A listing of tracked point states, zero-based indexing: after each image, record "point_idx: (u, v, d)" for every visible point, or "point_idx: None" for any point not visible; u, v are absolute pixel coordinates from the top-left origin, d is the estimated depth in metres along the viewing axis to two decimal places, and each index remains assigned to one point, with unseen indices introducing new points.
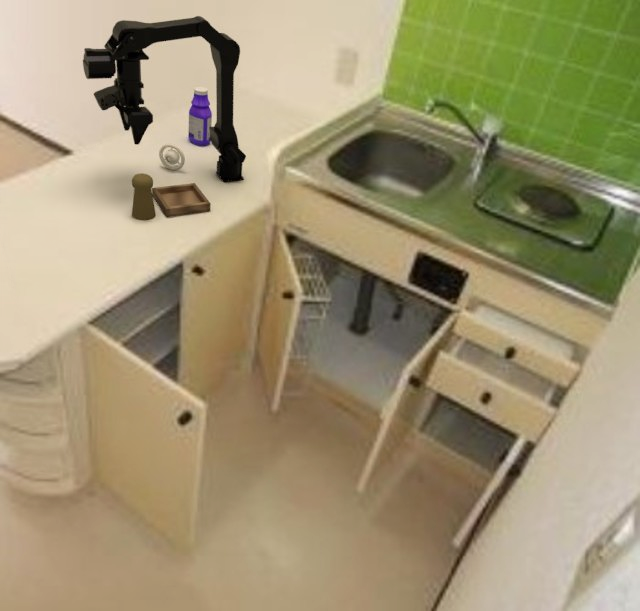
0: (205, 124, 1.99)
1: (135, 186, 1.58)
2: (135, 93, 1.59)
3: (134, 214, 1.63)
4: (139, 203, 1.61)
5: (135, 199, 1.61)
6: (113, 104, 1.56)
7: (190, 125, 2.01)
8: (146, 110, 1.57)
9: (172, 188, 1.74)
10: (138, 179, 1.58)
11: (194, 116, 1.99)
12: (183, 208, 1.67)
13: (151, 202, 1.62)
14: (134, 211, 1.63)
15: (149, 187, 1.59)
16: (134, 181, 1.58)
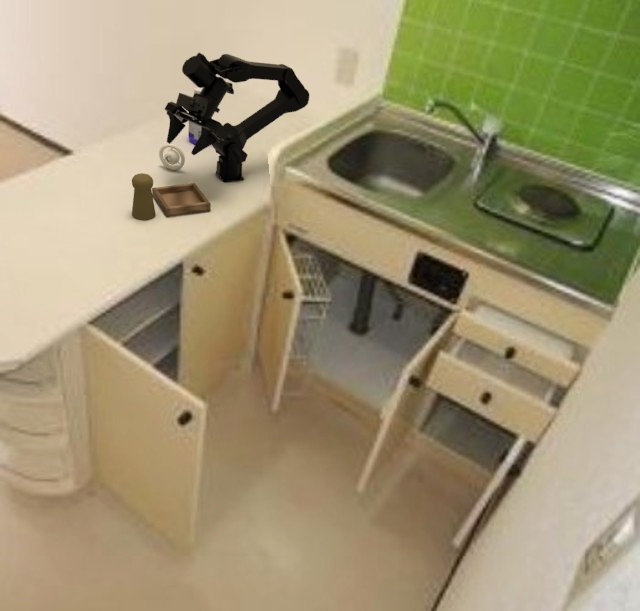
0: None
1: (135, 186, 1.58)
2: (212, 113, 1.69)
3: (134, 214, 1.63)
4: (139, 203, 1.61)
5: (135, 199, 1.61)
6: (201, 109, 1.63)
7: (190, 125, 2.01)
8: None
9: (172, 188, 1.74)
10: (138, 179, 1.58)
11: None
12: (183, 208, 1.67)
13: (151, 202, 1.62)
14: (134, 211, 1.63)
15: (149, 187, 1.59)
16: (134, 181, 1.58)
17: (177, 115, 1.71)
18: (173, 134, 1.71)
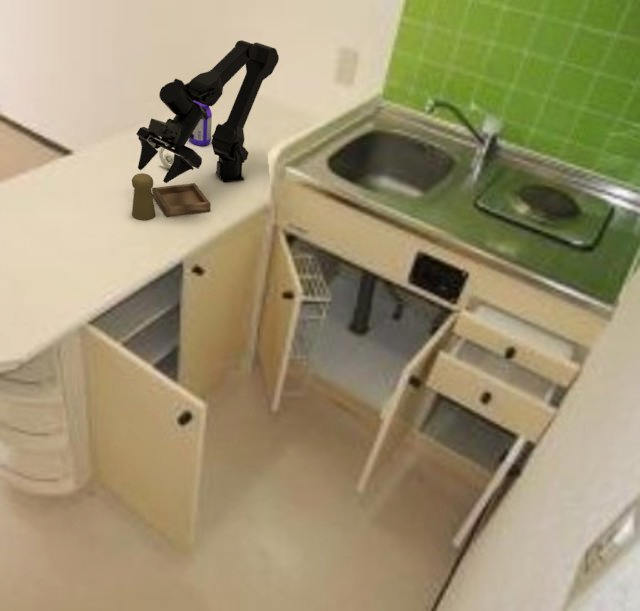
0: (205, 124, 1.99)
1: (135, 186, 1.58)
2: (186, 139, 1.62)
3: (134, 214, 1.63)
4: (139, 203, 1.61)
5: (135, 199, 1.61)
6: (174, 135, 1.56)
7: None
8: None
9: (172, 188, 1.74)
10: (138, 179, 1.58)
11: None
12: (183, 208, 1.67)
13: (151, 202, 1.62)
14: (134, 211, 1.63)
15: (149, 187, 1.59)
16: (134, 181, 1.58)
17: (149, 141, 1.64)
18: (145, 160, 1.64)
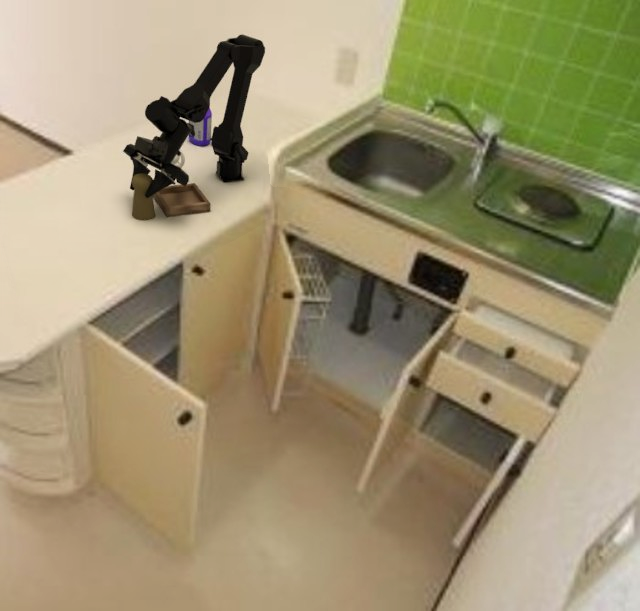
0: (205, 124, 1.99)
1: (135, 186, 1.58)
2: (173, 156, 1.61)
3: (134, 214, 1.63)
4: (139, 203, 1.61)
5: (135, 199, 1.61)
6: (161, 153, 1.55)
7: None
8: None
9: (172, 188, 1.74)
10: (138, 179, 1.58)
11: None
12: (183, 208, 1.67)
13: (151, 202, 1.62)
14: (134, 211, 1.63)
15: None
16: (134, 181, 1.58)
17: (141, 161, 1.62)
18: None
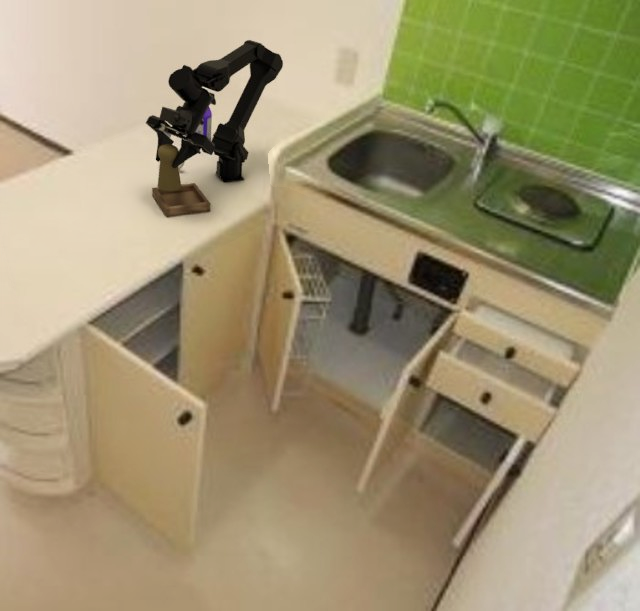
0: (205, 124, 1.99)
1: (162, 157, 1.60)
2: (197, 126, 1.62)
3: (161, 185, 1.64)
4: (166, 174, 1.62)
5: (162, 170, 1.62)
6: (187, 123, 1.56)
7: None
8: None
9: None
10: (165, 150, 1.59)
11: None
12: (183, 208, 1.67)
13: (177, 173, 1.64)
14: (161, 182, 1.64)
15: None
16: (161, 152, 1.59)
17: (165, 131, 1.63)
18: None
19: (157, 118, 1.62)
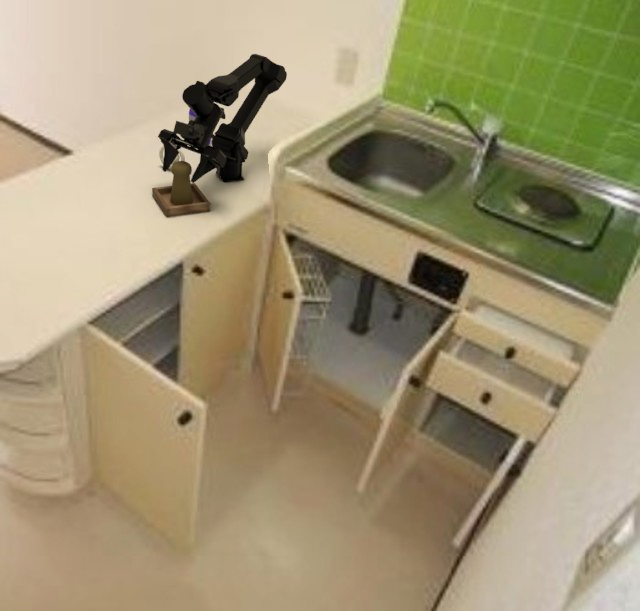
0: None
1: (176, 173, 1.65)
2: (208, 139, 1.68)
3: (173, 201, 1.70)
4: (179, 190, 1.68)
5: (175, 186, 1.68)
6: (200, 136, 1.61)
7: None
8: None
9: None
10: (179, 166, 1.64)
11: (194, 116, 1.99)
12: (183, 208, 1.67)
13: (189, 188, 1.69)
14: (174, 198, 1.69)
15: (189, 174, 1.66)
16: (175, 168, 1.65)
17: (171, 142, 1.68)
18: (168, 162, 1.68)
19: (169, 132, 1.67)
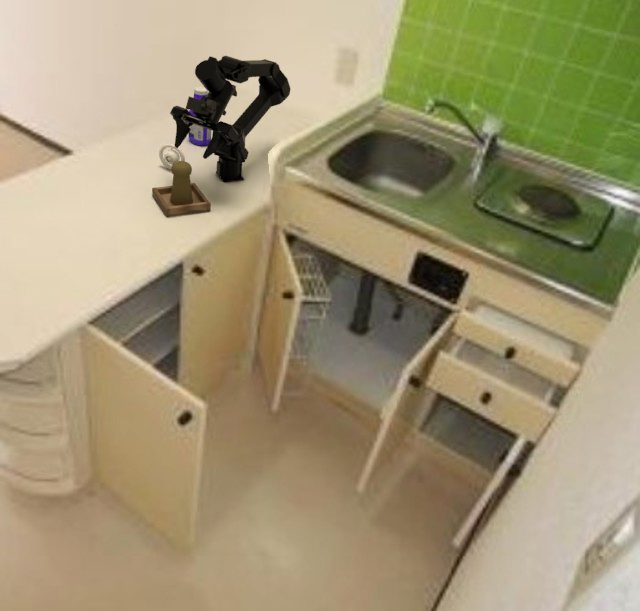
0: None
1: (176, 173, 1.65)
2: (220, 116, 1.68)
3: (174, 201, 1.70)
4: (179, 190, 1.68)
5: (175, 186, 1.68)
6: (213, 112, 1.62)
7: None
8: None
9: None
10: (179, 166, 1.64)
11: None
12: (183, 208, 1.67)
13: (189, 188, 1.69)
14: (174, 198, 1.69)
15: (189, 174, 1.66)
16: (175, 168, 1.65)
17: (183, 119, 1.69)
18: (180, 138, 1.69)
19: (181, 108, 1.68)
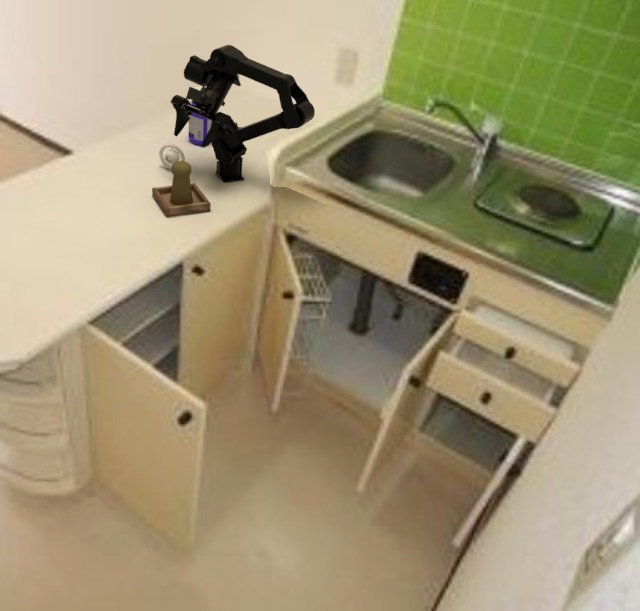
0: (205, 124, 1.99)
1: (176, 173, 1.65)
2: (219, 106, 1.74)
3: (173, 201, 1.70)
4: (179, 190, 1.68)
5: (175, 186, 1.68)
6: (212, 102, 1.68)
7: (190, 125, 2.01)
8: None
9: None
10: (179, 166, 1.64)
11: (194, 116, 1.99)
12: (183, 208, 1.67)
13: (189, 188, 1.69)
14: (174, 198, 1.69)
15: (189, 173, 1.66)
16: (174, 168, 1.65)
17: (183, 108, 1.74)
18: (180, 127, 1.75)
19: (182, 98, 1.73)
